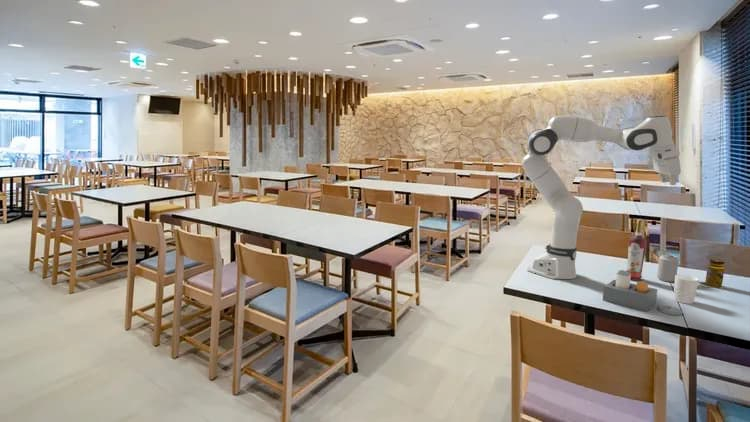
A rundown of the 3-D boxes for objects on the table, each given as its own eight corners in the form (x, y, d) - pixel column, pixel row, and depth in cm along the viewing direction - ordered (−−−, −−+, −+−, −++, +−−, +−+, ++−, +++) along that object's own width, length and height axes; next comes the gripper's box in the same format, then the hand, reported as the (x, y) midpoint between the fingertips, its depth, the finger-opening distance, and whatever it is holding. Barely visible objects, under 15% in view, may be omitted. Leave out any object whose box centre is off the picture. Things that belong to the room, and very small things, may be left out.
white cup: (672, 296, 185) (675, 273, 183) (695, 300, 181) (698, 276, 179) (671, 301, 179) (674, 278, 177) (695, 306, 174) (699, 282, 172)
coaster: (655, 311, 169) (655, 309, 169) (660, 305, 174) (660, 304, 174) (679, 317, 163) (679, 315, 163) (684, 311, 169) (685, 310, 168)
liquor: (644, 279, 206) (651, 220, 202) (639, 282, 202) (646, 222, 197) (627, 275, 212) (634, 218, 207) (622, 278, 207) (628, 220, 202)
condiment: (725, 289, 194) (729, 263, 192) (703, 287, 197) (706, 261, 194) (718, 284, 201) (722, 258, 199) (696, 282, 203) (700, 257, 201)
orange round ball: (634, 293, 174) (635, 282, 174) (637, 291, 177) (638, 280, 176) (645, 296, 172) (646, 285, 171) (648, 294, 174) (649, 283, 173)
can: (678, 283, 202) (682, 257, 199) (660, 281, 203) (664, 256, 201) (671, 277, 209) (674, 253, 207) (654, 276, 210) (657, 252, 208)
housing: (602, 300, 179) (604, 286, 178) (612, 293, 188) (614, 279, 187) (646, 311, 168) (648, 296, 167) (655, 303, 176) (657, 289, 175)
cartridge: (612, 299, 180) (615, 271, 178) (616, 296, 183) (619, 269, 181) (625, 303, 177) (628, 274, 174) (629, 300, 180) (632, 271, 178)
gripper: (646, 152, 200) (652, 182, 201) (663, 155, 180) (669, 188, 182) (662, 149, 198) (667, 179, 199) (681, 151, 178) (687, 184, 180)
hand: (668, 183), depth 190 cm, fingers open, 8 cm apart
